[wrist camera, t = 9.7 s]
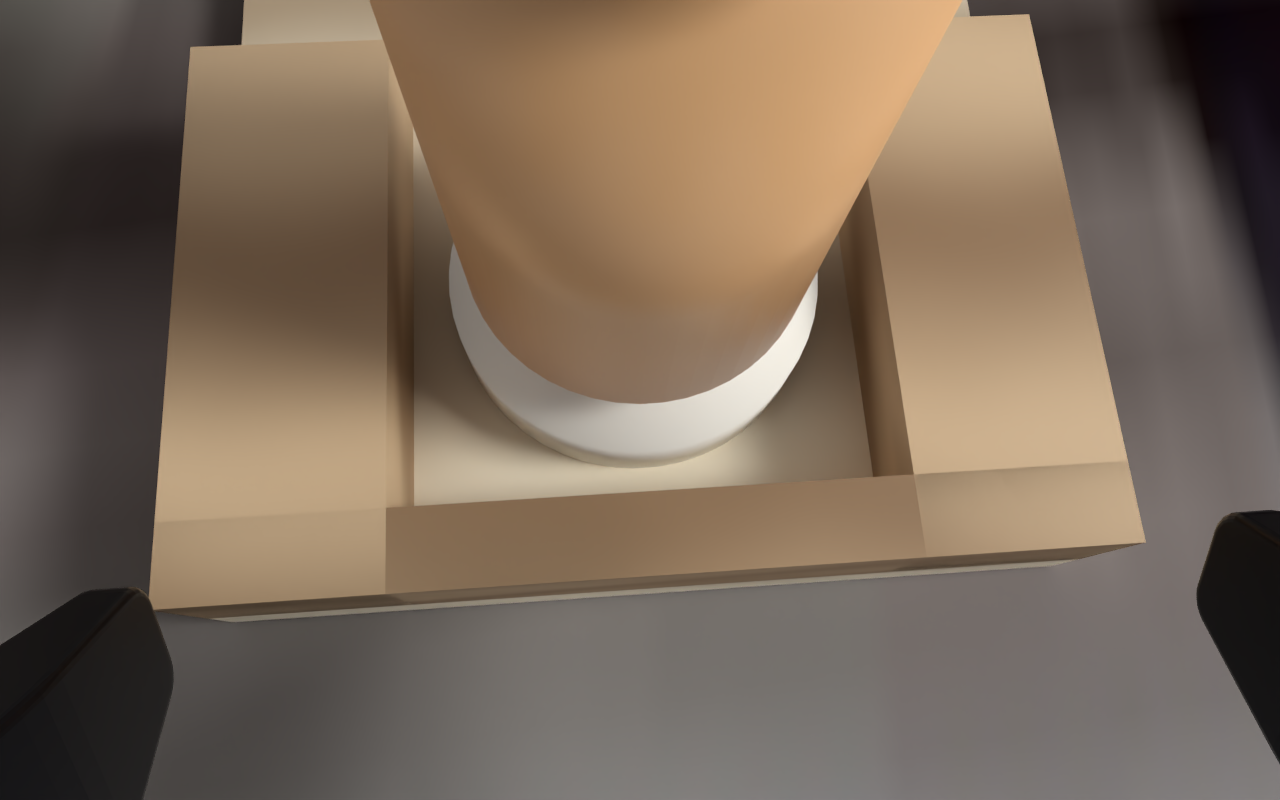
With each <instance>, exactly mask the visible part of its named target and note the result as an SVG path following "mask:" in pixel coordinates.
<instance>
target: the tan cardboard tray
mask: <svg viewBox="0 0 1280 800" xmlns="http://www.w3.org/2000/svg"><path fill="white" fill-rule="evenodd" d="M452 246H453V239H452V236H451V233H450V230H449V228H448V225H447V222H446V219H445V216H444V213H443V210H442V207H441V205H440V202H439V199H438V196H437V193H436V190H435V187H434V185H433V182H432V179H431V176H430V173H429V170H428V167H427V164H426V162H425V159H424V156H423V153H422V150H421V147H420V144H419V142H418V139H417V136H416V133H415V130H414V127H413V124H412V121H411V119H410V116H409V113H408V110H407V107H406V104H405V101H404V99H403V96H402V93H401V90H400V87H399V84H398V81H397V78H396V76H395V73H394V70H393V67H392V64H391V61H390V58H389V56H388V53H387V50H386V47H385V44H384V41H383V38H382V35H381V33H380V30H379V27H378V24H377V21H376V18H375V15H374V13H373V10H372V7H371V4H370V1H369V0H244V12H243V29H242V45H231V46H205V47H191V48H190V61H189V74H188V87H187V101H186V114H185V127H184V140H183V153H182V166H181V180H180V193H179V206H178V219H177V232H176V245H175V259H174V272H173V285H172V298H171V311H170V324H169V337H168V351H167V364H166V377H165V390H164V403H163V416H162V430H161V443H160V456H159V469H158V482H157V495H156V509H155V522H154V535H153V548H152V561H151V574H150V587H149V599H150V602H151V604H152V606H153V609H154V611H157V612H164V613H171V614H178V615H185V616H192V617H199V618H206V619H213V620H220V621H227V622H244V621H259V620H273V619H288V618H302V617H317V616H331V615H346V614H360V613H375V612H390V611H404V610H419V609H433V608H448V607H462V606H477V605H491V604H506V603H520V602H535V601H549V600H564V599H579V598H593V597H608V596H622V595H637V594H651V593H666V592H680V591H695V590H709V589H724V588H738V587H753V586H768V585H782V584H797V583H811V582H826V581H840V580H855V579H869V578H884V577H898V576H913V575H927V574H942V573H957V572H971V571H986V570H1000V569H1015V568H1029V567H1044V566H1053V565H1057V564H1061V563H1065V562H1069V561H1073V560H1077V559H1081V558H1085V557H1089V556H1093V555H1097V554H1101V553H1105V552H1109V551H1113V550H1117V549H1121V548H1125V547H1129V546H1133V545H1137V544H1141V543H1145V542H1146V541H1145V537H1144V532H1143V528H1142V523H1141V519H1140V514H1139V510H1138V505H1137V501H1136V496H1135V492H1134V487H1133V482H1132V478H1131V473H1130V469H1129V464H1128V460H1127V455H1126V451H1125V446H1124V442H1123V437H1122V433H1121V428H1120V424H1119V419H1118V415H1117V410H1116V406H1115V401H1114V397H1113V392H1112V388H1111V383H1110V379H1109V374H1108V370H1107V365H1106V360H1105V356H1104V351H1103V347H1102V342H1101V338H1100V333H1099V329H1098V324H1097V320H1096V315H1095V311H1094V306H1093V302H1092V297H1091V293H1090V288H1089V284H1088V279H1087V275H1086V270H1085V266H1084V261H1083V257H1082V252H1081V248H1080V243H1079V238H1078V234H1077V229H1076V225H1075V220H1074V216H1073V211H1072V207H1071V202H1070V198H1069V193H1068V189H1067V184H1066V180H1065V175H1064V171H1063V166H1062V162H1061V157H1060V153H1059V148H1058V144H1057V139H1056V135H1055V130H1054V126H1053V121H1052V117H1051V112H1050V107H1049V103H1048V98H1047V94H1046V89H1045V85H1044V80H1043V76H1042V71H1041V67H1040V62H1039V58H1038V53H1037V49H1036V44H1035V40H1034V35H1033V31H1032V26H1031V22H1030V17H1029V14H1027V15H1001V16H975V17H970V13H969V8H968V3H967V0H962V2H961V4H960V6H959V8H958V10H957V12H956V13H955V15H954V17H953V19H952V21H951V23H950V25H949V26H948V28H947V30H946V32H945V34H944V36H943V38H942V40H941V41H940V43H939V45H938V47H937V49H936V51H935V53H934V55H933V56H932V58H931V60H930V62H929V64H928V66H927V68H926V69H925V71H924V73H923V75H922V77H921V79H920V81H919V83H918V84H917V86H916V88H915V90H914V92H913V94H912V96H911V97H910V99H909V101H908V103H907V105H906V107H905V109H904V111H903V112H902V114H901V116H900V118H899V120H898V122H897V124H896V125H895V127H894V129H893V131H892V133H891V135H890V137H889V139H888V140H887V142H886V144H885V146H884V148H883V150H882V152H881V154H880V155H879V157H878V159H877V161H876V163H875V165H874V167H873V168H872V170H871V172H870V174H869V176H868V178H867V180H866V182H865V183H864V185H863V187H862V189H861V191H860V193H859V195H858V196H857V198H856V200H855V202H854V204H853V206H852V208H851V210H850V211H849V213H848V215H847V217H846V219H845V221H844V223H843V224H842V226H841V228H840V230H839V232H838V234H837V236H836V238H835V239H834V241H833V243H832V245H831V247H830V249H829V251H828V253H827V254H826V256H825V258H824V260H823V262H822V264H821V266H820V267H819V269H818V271H817V272H818V296H817V303H816V310H815V317H814V321H813V324H812V327H811V331H810V334H809V338H808V340H807V343H806V345H805V347H804V349H803V351H802V354H801V356H800V358H799V360H798V362H797V363H796V365H795V367H794V368H793V370H792V371H791V373H790V374H789V376H788V378H787V379H786V381H785V382H784V384H783V386H782V387H781V389H780V390H779V392H778V393H777V395H776V397H775V398H774V400H773V401H772V402H771V403H770V405H769V406H768V407H767V408H766V409H765V410H764V412H763V413H762V414H761V415H760V416H759V417H758V418H757V419H756V420H755V421H754V422H753V423H752V424H751V425H749V426H748V427H747V428H746V429H745V430H744V431H743V432H741V433H740V434H738V435H737V436H735V437H734V438H732V439H731V440H729V441H728V442H727V443H725V444H724V445H722V446H720V447H718V448H716V449H714V450H711V451H709V452H707V453H705V454H703V455H701V456H698V457H695V458H692V459H689V460H686V461H683V462H680V463H675V464H670V465H665V466H660V467H649V468H618V467H608V466H602V465H597V464H592V463H587V462H584V461H581V460H578V459H575V458H572V457H569V456H566V455H563V454H561V453H559V452H557V451H555V450H553V449H551V448H549V447H547V446H545V445H543V444H541V443H540V442H538V441H537V440H535V439H534V438H532V437H531V436H529V435H528V434H526V433H525V432H523V431H522V430H521V429H520V428H519V427H518V426H516V425H515V424H514V423H513V422H512V421H511V420H510V419H508V418H507V417H506V416H505V414H504V413H503V412H502V411H501V410H500V409H499V408H498V407H497V405H496V404H495V403H494V402H493V401H492V399H491V398H490V396H489V395H488V393H487V392H486V390H485V389H484V387H483V386H482V384H481V383H480V381H479V379H478V377H477V375H476V373H475V371H474V369H473V367H472V365H471V362H470V360H469V358H468V355H467V353H466V351H465V348H464V346H463V344H462V342H461V339H460V336H459V333H458V330H457V327H456V324H455V321H454V317H453V312H452V306H451V300H450V294H449V266H450V258H451V250H452Z"/></svg>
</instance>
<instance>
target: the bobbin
mask: <svg viewBox="0 0 1280 800" xmlns="http://www.w3.org/2000/svg"><path fill="white" fill-rule="evenodd" d="M369 1H370V4H371V7H372V10H373V13H374V15H375V18H376V21H377V24H378V27H379V30H380V33H381V35H382V38H383V41H384V44H385V47H386V50H387V53H388V56H389V58H390V61H391V64H392V67H393V70H394V73H395V76H396V78H397V81H398V84H399V87H400V90H401V93H402V96H403V99H404V101H405V104H406V107H407V110H408V113H409V116H410V119H411V121H412V124H413V127H414V130H415V133H416V136H417V139H418V142H419V144H420V147H421V150H422V153H423V156H424V159H425V162H426V164H427V167H428V170H429V173H430V176H431V179H432V182H433V185H434V187H435V190H436V193H437V196H438V199H439V202H440V205H441V207H442V210H443V213H444V216H445V219H446V222H447V225H448V228H449V230H450V233H451V236H452V239H453V246H452V250H451V258H450V266H449V294H450V300H451V306H452V312H453V317H454V321H455V324H456V327H457V330H458V333H459V336H460V339H461V342H462V344H463V346H464V348H465V351H466V353H467V355H468V358H469V360H470V362H471V365H472V367H473V369H474V371H475V373H476V375H477V377H478V379H479V381H480V383H481V384H482V386H483V387H484V389H485V390H486V392H487V393H488V395H489V396H490V398H491V399H492V401H493V402H494V403H495V404H496V405H497V407H498V408H499V409H500V410H501V411H502V412H503V413H504V414H505V416H506V417H507V418H508V419H510V420H511V421H512V422H513V423H514V424H515V425H516V426H518V427H519V428H520V429H521V430H522V431H523V432H525V433H526V434H528V435H529V436H531V437H532V438H534V439H535V440H537V441H538V442H540V443H541V444H543V445H545V446H547V447H549V448H551V449H553V450H555V451H557V452H559V453H561V454H563V455H566V456H569V457H572V458H575V459H578V460H581V461H584V462H587V463H592V464H597V465H602V466H608V467H618V468H649V467H660V466H665V465H670V464H675V463H680V462H683V461H686V460H689V459H692V458H695V457H698V456H701V455H703V454H705V453H707V452H709V451H711V450H714V449H716V448H718V447H720V446H722V445H724V444H725V443H727V442H728V441H729V440H731V439H732V438H734V437H735V436H737V435H738V434H740V433H741V432H743V431H744V430H745V429H746V428H747V427H748V426H749V425H751V424H752V423H753V422H754V421H755V420H756V419H757V418H758V417H759V416H760V415H761V414H762V413H763V412H764V410H765V409H766V408H767V407H768V406H769V405H770V403H771V402H772V401H773V400H774V398H775V397H776V395H777V393H778V392H779V390H780V389H781V387H782V386H783V384H784V382H785V381H786V379H787V378H788V376H789V374H790V373H791V371H792V370H793V368H794V367H795V365H796V363H797V362H798V360H799V358H800V356H801V354H802V351H803V349H804V347H805V345H806V343H807V340H808V338H809V334H810V331H811V327H812V324H813V321H814V317H815V310H816V303H817V296H818V272H817V271H818V269H819V267H820V266H821V264H822V262H823V260H824V258H825V256H826V254H827V253H828V251H829V249H830V247H831V245H832V243H833V241H834V239H835V238H836V236H837V234H838V232H839V230H840V228H841V226H842V224H843V223H844V221H845V219H846V217H847V215H848V213H849V211H850V210H851V208H852V206H853V204H854V202H855V200H856V198H857V196H858V195H859V193H860V191H861V189H862V187H863V185H864V183H865V182H866V180H867V178H868V176H869V174H870V172H871V170H872V168H873V167H874V165H875V163H876V161H877V159H878V157H879V155H880V154H881V152H882V150H883V148H884V146H885V144H886V142H887V140H888V139H889V137H890V135H891V133H892V131H893V129H894V127H895V125H896V124H897V122H898V120H899V118H900V116H901V114H902V112H903V111H904V109H905V107H906V105H907V103H908V101H909V99H910V97H911V96H912V94H913V92H914V90H915V88H916V86H917V84H918V83H919V81H920V79H921V77H922V75H923V73H924V71H925V69H926V68H927V66H928V64H929V62H930V60H931V58H932V56H933V55H934V53H935V51H936V49H937V47H938V45H939V43H940V41H941V40H942V38H943V36H944V34H945V32H946V30H947V28H948V26H949V25H950V23H951V21H952V19H953V17H954V15H955V13H956V12H957V10H958V8H959V6H960V4H961V2H962V0H369Z"/></svg>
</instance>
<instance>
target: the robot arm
mask: <svg viewBox="0 0 1280 800" xmlns="http://www.w3.org/2000/svg"><path fill="white" fill-rule="evenodd" d="M1196 598H1197V606H1198V610H1199V613H1200V616H1201V618H1202V621H1203V622H1204V624H1205V626H1206V628H1207V630H1208V632H1209V634H1210V635H1211V637H1212V639H1213V641H1214V643H1215V645H1216V647H1217V649H1218V650H1219V652H1220V654H1221V656H1222V658H1223V660H1224V662H1225V664H1226V665H1227V667H1228V669H1229V671H1230V673H1231V675H1232V677H1233V678H1234V680H1235V682H1236V684H1237V686H1238V688H1239V690H1240V692H1241V693H1242V695H1243V697H1244V699H1245V701H1246V703H1247V705H1248V706H1249V708H1250V710H1251V712H1252V714H1253V716H1254V718H1255V720H1256V721H1257V723H1258V725H1259V727H1260V729H1261V731H1262V733H1263V735H1264V736H1265V738H1266V740H1267V742H1268V744H1269V746H1270V748H1271V749H1272V751H1273V753H1274V755H1275V756H1276V758H1277V760H1278V762H1279V764H1280V511H1274V510H1263V511H1249V512H1234V513H1231V514H1229V515H1226V516H1225V517H1223V518H1222V520H1221V521H1220V522H1219V523H1218V525H1217V527H1216V529H1215V532H1214V535H1213V538H1212V542H1211V545H1210V548H1209V551H1208V554H1207V557H1206V561H1205V564H1204V567H1203V570H1202V573H1201V576H1200V580H1199V583H1198V587H1197V597H1196ZM172 689H173V666H172V661H171V658H170V655H169V652H168V649H167V646H166V644H165V641H164V638H163V635H162V632H161V629H160V626H159V624H158V621H157V618H156V615H155V612H154V609H153V606H152V604H151V602H150V599H149V597H148V596H147V595H146V593H145V592H144V591H142V590H141V589H138V588H136V587H124V588H109V589H95V590H89V591H86V592H83V593H81V594H80V595H78V596H76V597H75V598H73V599H72V600H70V601H69V602H67V603H65V604H64V605H62V606H61V607H59V608H58V609H56V610H55V611H53V612H51V613H50V614H48V615H47V616H45V617H44V618H42V619H40V620H39V621H37V622H36V623H34V624H33V625H31V626H30V627H28V628H26V629H25V630H23V631H22V632H20V633H19V634H17V635H15V636H14V637H12V638H11V639H9V640H8V641H6V642H5V643H3V644H1V645H0V800H143V797H144V794H145V790H146V786H147V783H148V779H149V775H150V772H151V768H152V764H153V761H154V757H155V753H156V749H157V746H158V742H159V738H160V735H161V731H162V727H163V724H164V720H165V716H166V713H167V709H168V705H169V702H170V698H171V694H172Z"/></svg>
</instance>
